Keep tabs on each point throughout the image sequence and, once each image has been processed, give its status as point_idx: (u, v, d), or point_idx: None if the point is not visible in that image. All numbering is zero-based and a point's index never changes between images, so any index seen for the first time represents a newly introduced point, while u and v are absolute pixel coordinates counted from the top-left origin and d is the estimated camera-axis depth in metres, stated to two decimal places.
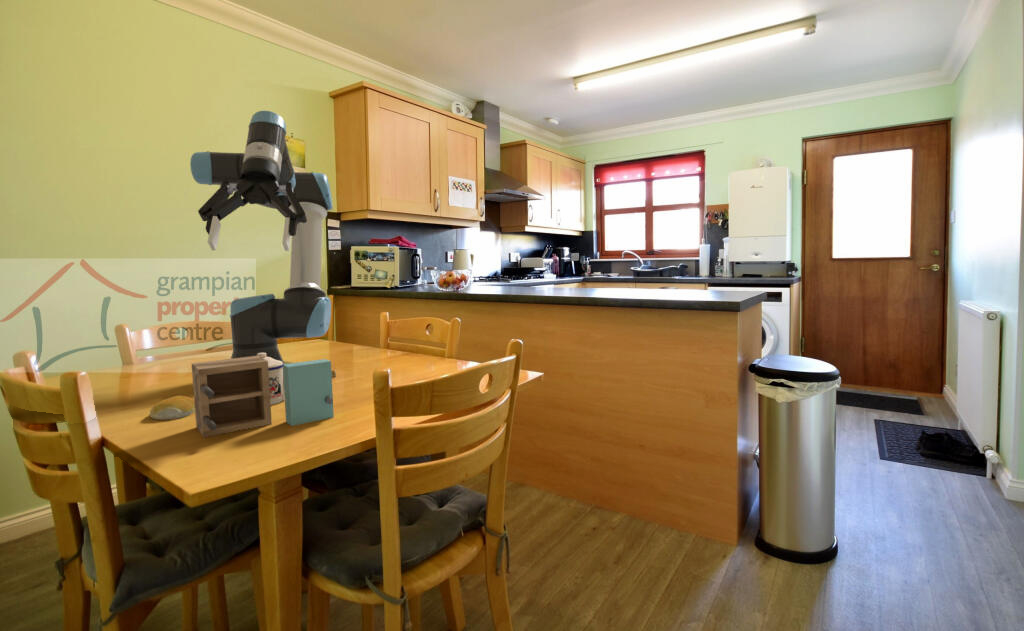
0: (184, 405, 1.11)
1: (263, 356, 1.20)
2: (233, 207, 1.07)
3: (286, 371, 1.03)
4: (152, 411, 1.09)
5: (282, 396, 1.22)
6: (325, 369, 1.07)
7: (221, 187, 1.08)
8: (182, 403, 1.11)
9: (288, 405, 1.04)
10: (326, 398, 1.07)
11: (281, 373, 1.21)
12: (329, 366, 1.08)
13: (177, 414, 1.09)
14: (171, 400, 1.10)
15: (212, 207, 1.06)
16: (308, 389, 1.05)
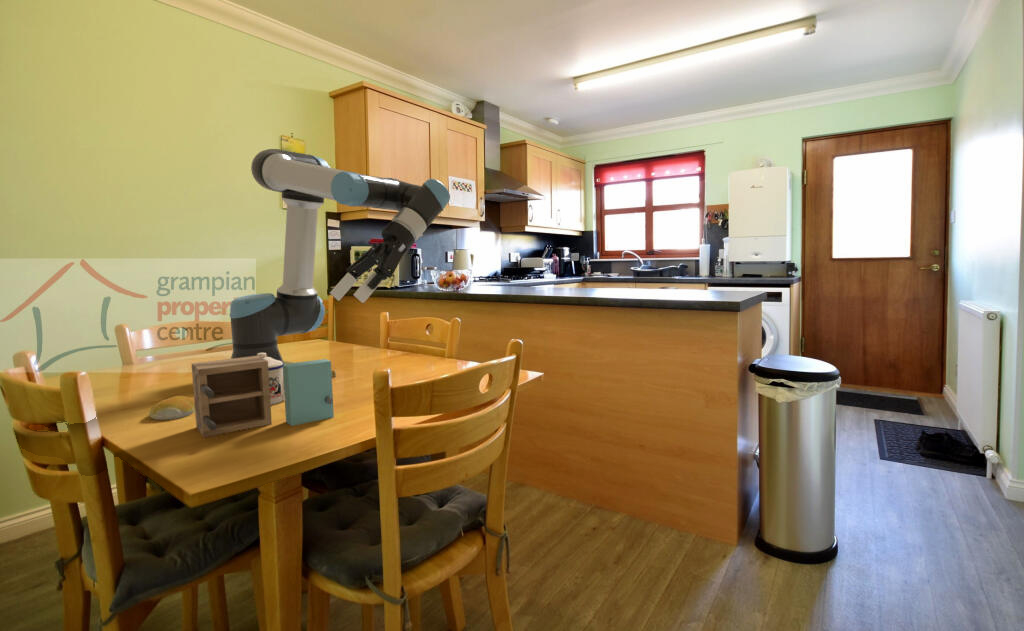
0: (184, 405, 1.10)
1: (263, 356, 1.20)
2: None
3: (286, 371, 1.03)
4: (152, 411, 1.09)
5: (282, 396, 1.22)
6: (325, 369, 1.07)
7: None
8: (181, 403, 1.11)
9: (288, 405, 1.04)
10: (326, 398, 1.07)
11: (281, 373, 1.21)
12: (329, 366, 1.08)
13: (176, 415, 1.09)
14: (171, 400, 1.10)
15: None
16: (308, 389, 1.05)
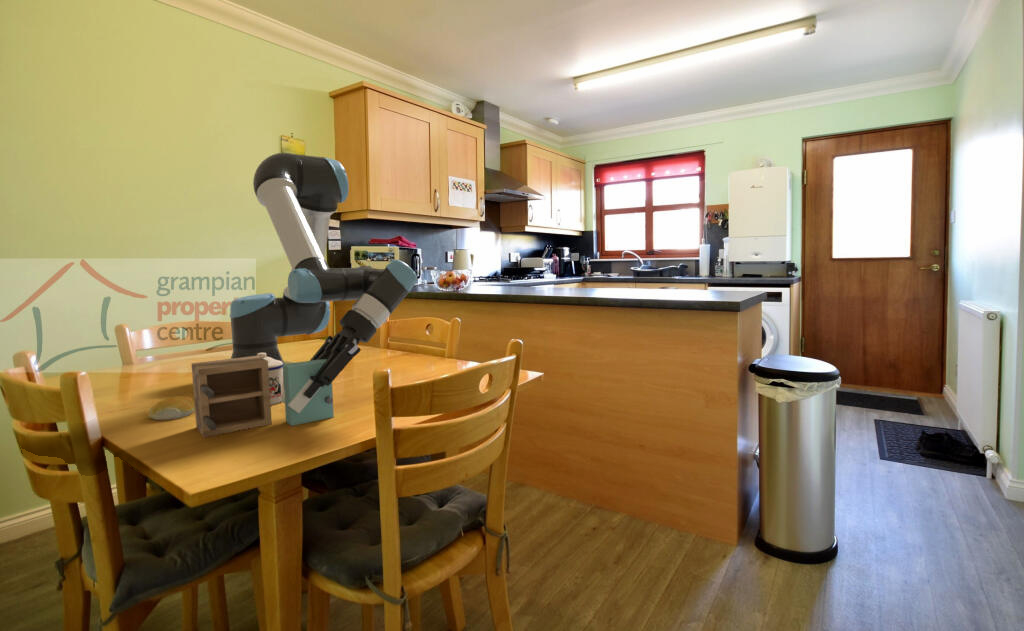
0: (183, 405, 1.10)
1: (263, 356, 1.20)
2: None
3: (286, 371, 1.03)
4: (151, 411, 1.08)
5: (282, 396, 1.22)
6: None
7: None
8: (181, 403, 1.10)
9: None
10: (326, 398, 1.07)
11: (281, 373, 1.21)
12: None
13: (176, 415, 1.09)
14: (170, 400, 1.10)
15: None
16: None
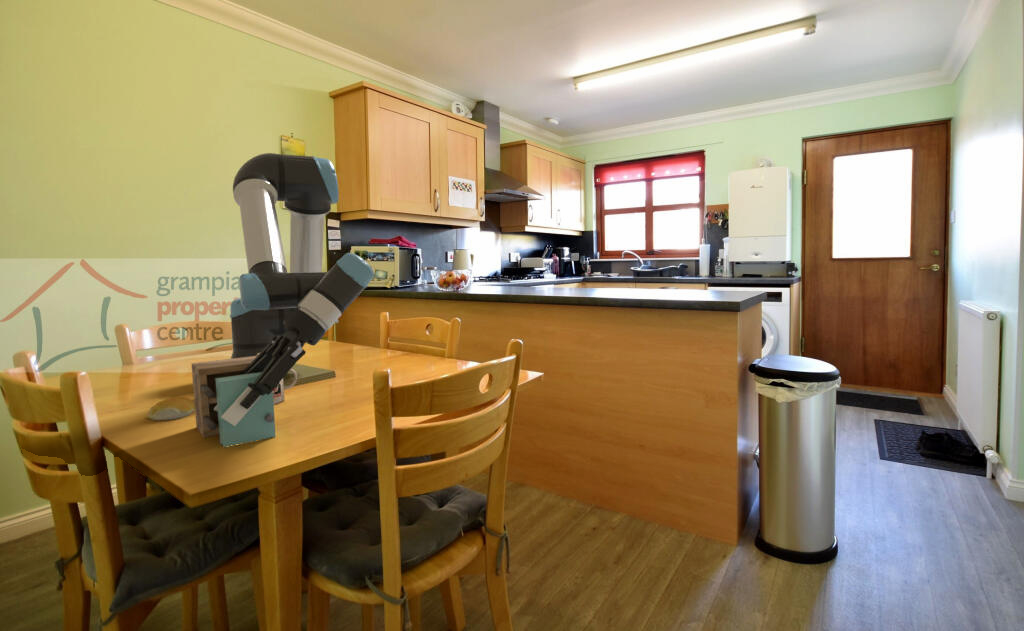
0: (183, 406, 1.10)
1: None
2: None
3: (218, 386, 0.91)
4: (150, 412, 1.08)
5: (282, 396, 1.22)
6: None
7: None
8: (180, 404, 1.10)
9: (221, 424, 0.92)
10: (266, 416, 0.95)
11: None
12: None
13: (175, 415, 1.09)
14: (170, 400, 1.10)
15: None
16: None
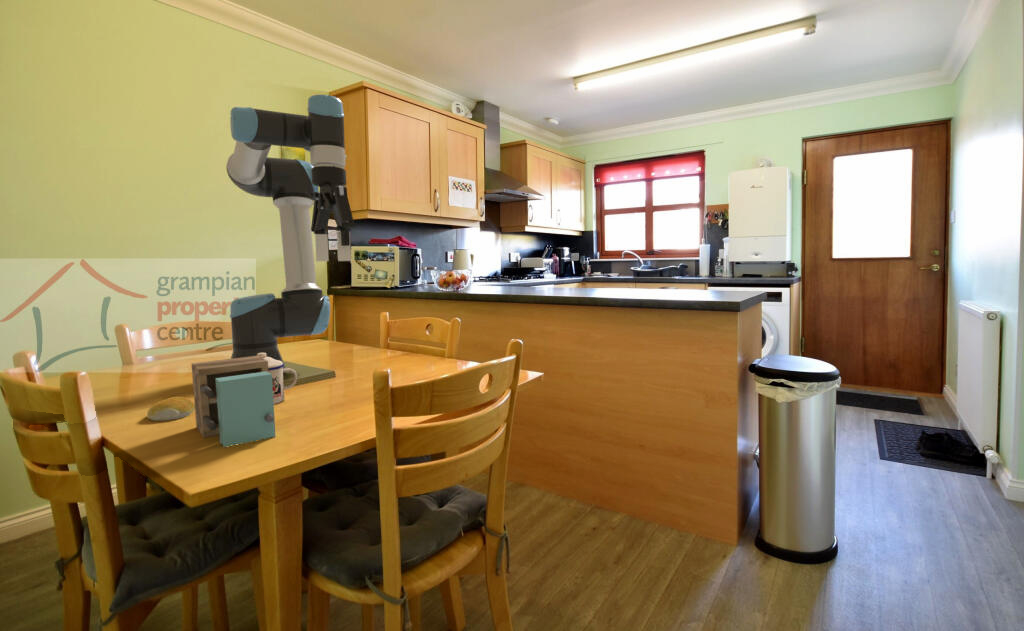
0: (182, 406, 1.10)
1: (263, 356, 1.20)
2: None
3: (218, 386, 0.91)
4: (150, 412, 1.08)
5: (282, 396, 1.22)
6: (265, 384, 0.95)
7: None
8: (180, 404, 1.10)
9: (221, 424, 0.92)
10: (266, 416, 0.95)
11: (281, 373, 1.21)
12: (270, 380, 0.96)
13: (175, 415, 1.08)
14: (169, 401, 1.10)
15: None
16: (244, 406, 0.93)
